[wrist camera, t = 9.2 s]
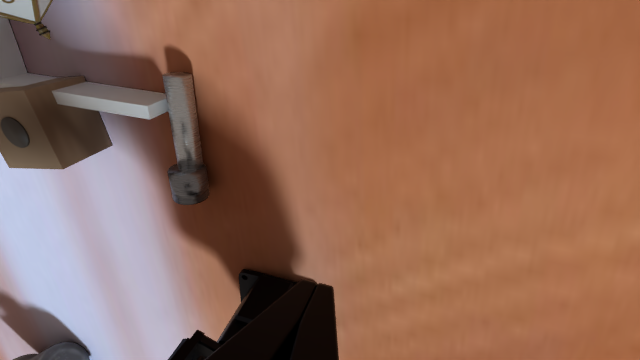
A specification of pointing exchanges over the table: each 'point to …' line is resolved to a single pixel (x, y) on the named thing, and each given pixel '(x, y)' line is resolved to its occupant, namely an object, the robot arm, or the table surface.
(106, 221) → the table surface
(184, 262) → the table surface
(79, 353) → the pipe fitting
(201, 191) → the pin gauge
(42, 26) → the game die
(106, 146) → the drilled block
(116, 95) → the tray
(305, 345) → the robot arm
